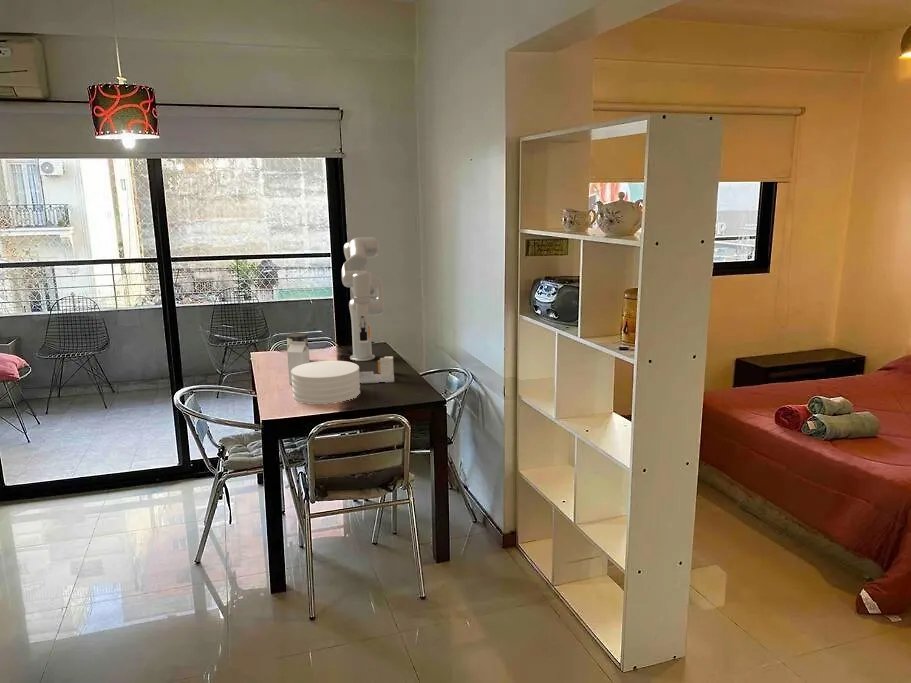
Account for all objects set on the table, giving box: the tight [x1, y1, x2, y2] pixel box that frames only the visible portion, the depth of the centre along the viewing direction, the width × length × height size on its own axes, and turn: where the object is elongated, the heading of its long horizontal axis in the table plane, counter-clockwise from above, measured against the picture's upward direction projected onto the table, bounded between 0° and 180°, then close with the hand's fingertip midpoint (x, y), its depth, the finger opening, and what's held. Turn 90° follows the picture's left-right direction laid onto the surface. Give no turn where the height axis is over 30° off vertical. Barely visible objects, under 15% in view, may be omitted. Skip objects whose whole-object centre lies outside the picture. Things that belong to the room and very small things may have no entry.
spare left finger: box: [383, 356, 395, 374], centre depth 319 cm, size 4×5×8 cm
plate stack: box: [291, 360, 361, 405], centre depth 287 cm, size 28×28×12 cm
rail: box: [359, 357, 395, 384], centre depth 307 cm, size 8×24×10 cm, turn 96°
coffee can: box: [286, 332, 309, 350], centre depth 343 cm, size 10×10×14 cm
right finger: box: [359, 324, 370, 343], centre depth 313 cm, size 4×5×8 cm
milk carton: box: [287, 341, 311, 385], centre depth 304 cm, size 7×7×19 cm
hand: (363, 339), depth 313 cm, fingers closed on right finger, 4 cm apart
